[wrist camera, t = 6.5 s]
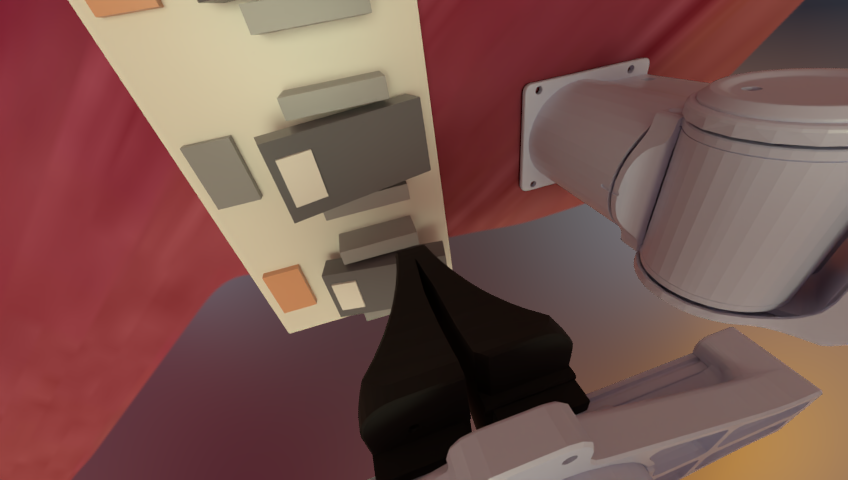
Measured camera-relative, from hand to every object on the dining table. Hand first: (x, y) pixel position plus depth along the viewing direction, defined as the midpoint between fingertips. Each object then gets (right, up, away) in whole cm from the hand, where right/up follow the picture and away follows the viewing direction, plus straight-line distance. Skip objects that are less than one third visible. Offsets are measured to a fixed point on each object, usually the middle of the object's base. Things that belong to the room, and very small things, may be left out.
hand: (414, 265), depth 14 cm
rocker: (-2, -2, +8) cm, 8 cm away
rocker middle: (-3, +6, +2) cm, 7 cm away
